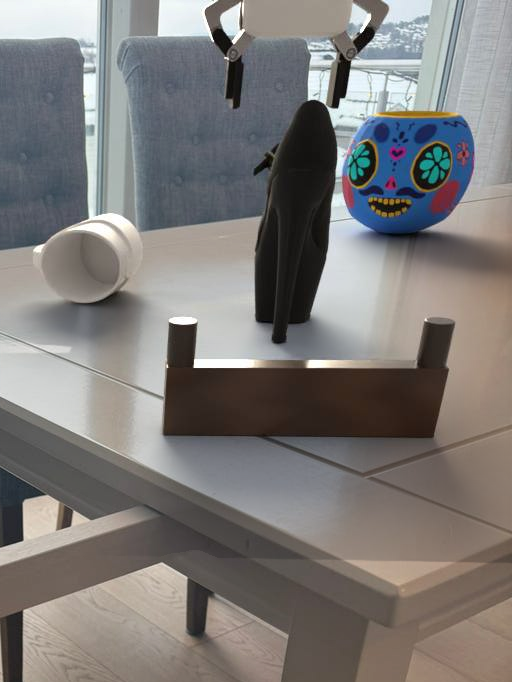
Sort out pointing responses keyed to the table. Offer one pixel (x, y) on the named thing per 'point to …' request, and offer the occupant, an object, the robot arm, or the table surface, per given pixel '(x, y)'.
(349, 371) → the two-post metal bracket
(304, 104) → the high-heeled shoe
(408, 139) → the ceramic pot
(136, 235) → the mug
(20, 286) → the table surface
